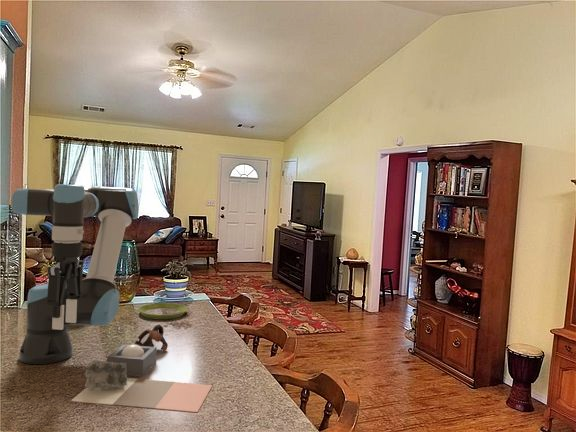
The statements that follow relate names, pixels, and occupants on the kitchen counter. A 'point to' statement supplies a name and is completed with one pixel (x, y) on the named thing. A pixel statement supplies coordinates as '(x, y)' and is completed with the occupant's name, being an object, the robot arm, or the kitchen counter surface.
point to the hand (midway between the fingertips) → (64, 325)
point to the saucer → (162, 305)
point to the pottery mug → (153, 337)
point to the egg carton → (105, 375)
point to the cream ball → (133, 351)
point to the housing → (135, 360)
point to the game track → (150, 395)
